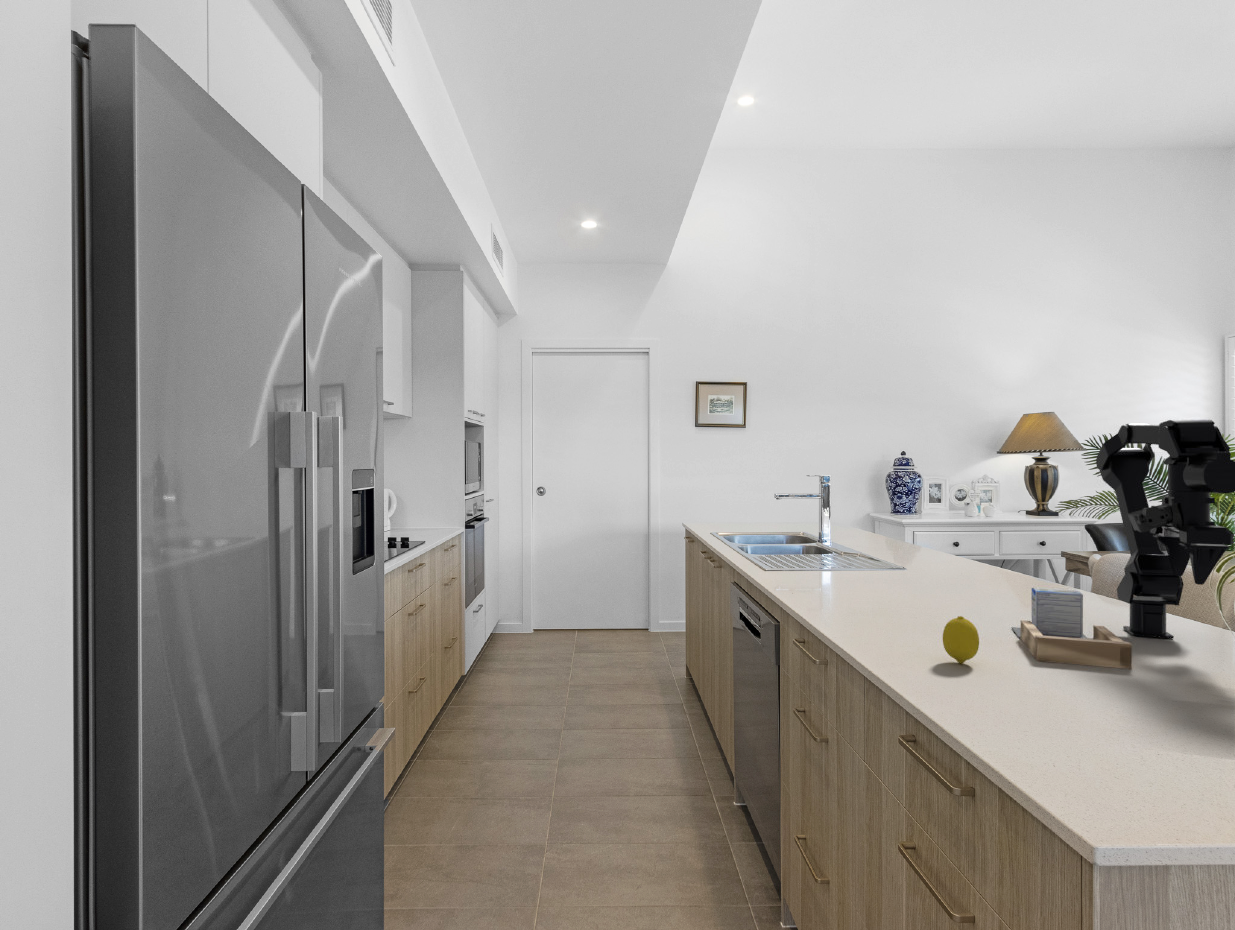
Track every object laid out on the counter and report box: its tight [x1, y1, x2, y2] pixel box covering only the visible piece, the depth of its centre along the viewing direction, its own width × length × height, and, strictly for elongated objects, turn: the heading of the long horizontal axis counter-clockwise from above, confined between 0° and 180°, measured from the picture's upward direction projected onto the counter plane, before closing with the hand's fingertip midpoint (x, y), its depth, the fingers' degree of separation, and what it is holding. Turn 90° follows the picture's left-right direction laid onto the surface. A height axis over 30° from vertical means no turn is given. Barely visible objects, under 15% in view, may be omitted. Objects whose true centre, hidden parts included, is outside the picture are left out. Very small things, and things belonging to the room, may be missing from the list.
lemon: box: [942, 615, 980, 665], centre depth 117 cm, size 6×6×8 cm
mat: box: [1010, 626, 1088, 639], centre depth 134 cm, size 8×12×1 cm, turn 69°
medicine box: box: [1030, 587, 1084, 637], centre depth 134 cm, size 8×4×9 cm, turn 69°
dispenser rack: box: [1020, 619, 1133, 670], centre depth 123 cm, size 16×13×4 cm
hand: (1188, 579), depth 122 cm, fingers open, 9 cm apart
